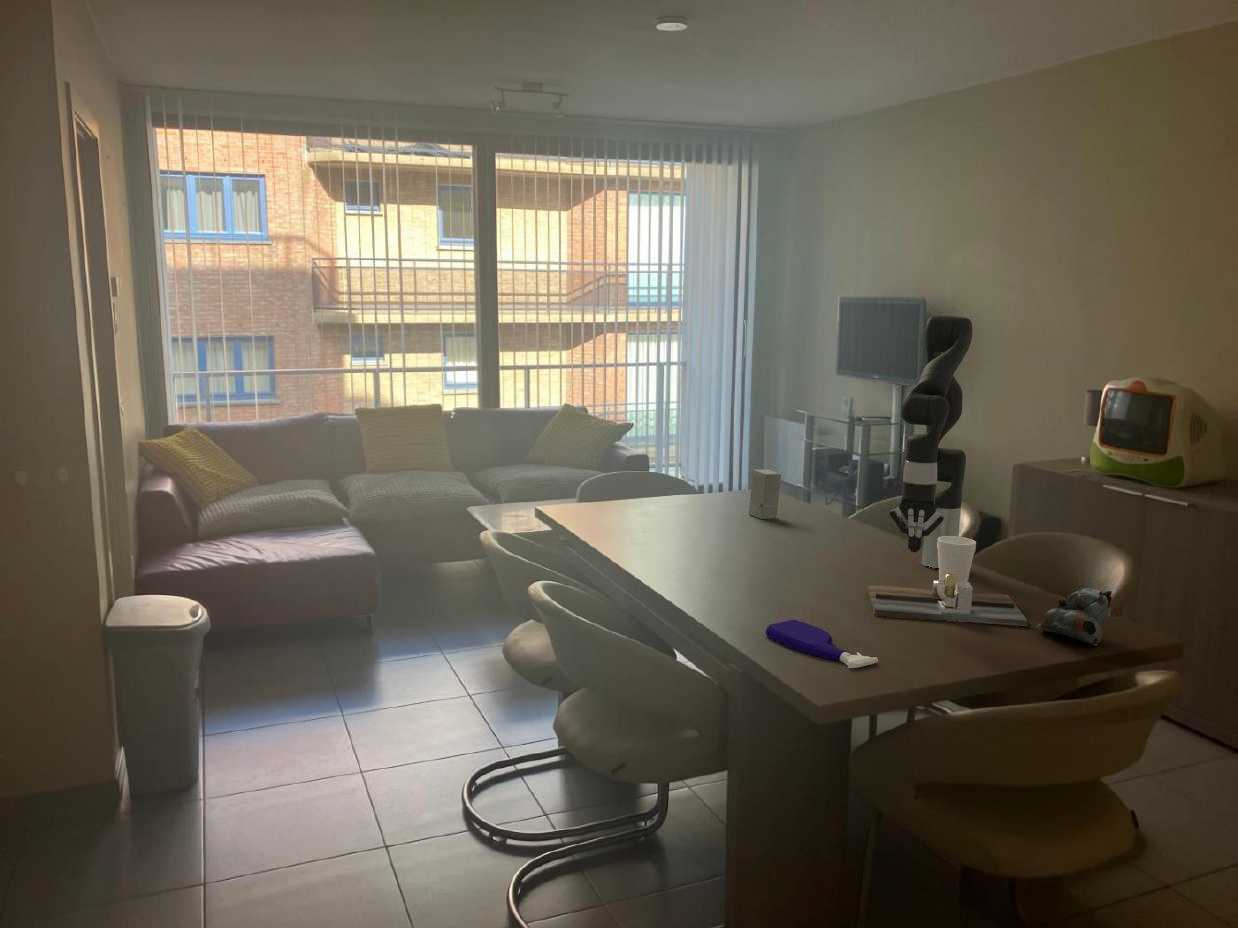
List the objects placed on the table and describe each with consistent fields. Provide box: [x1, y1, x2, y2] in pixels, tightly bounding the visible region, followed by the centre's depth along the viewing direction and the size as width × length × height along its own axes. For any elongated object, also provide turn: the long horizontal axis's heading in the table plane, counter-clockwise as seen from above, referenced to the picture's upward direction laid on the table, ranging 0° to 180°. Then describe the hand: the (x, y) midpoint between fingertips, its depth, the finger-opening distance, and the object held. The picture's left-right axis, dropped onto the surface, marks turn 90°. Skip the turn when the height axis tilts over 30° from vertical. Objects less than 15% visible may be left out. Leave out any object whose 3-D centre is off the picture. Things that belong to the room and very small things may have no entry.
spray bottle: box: [765, 619, 879, 669], centre depth 209 cm, size 3×11×24 cm
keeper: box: [937, 581, 974, 615], centre depth 233 cm, size 6×7×6 cm
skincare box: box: [748, 468, 782, 520], centre depth 337 cm, size 8×7×16 cm
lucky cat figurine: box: [1036, 587, 1113, 645], centre depth 220 cm, size 15×12×14 cm
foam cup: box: [937, 536, 977, 582], centre depth 255 cm, size 10×9×13 cm
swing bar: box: [932, 574, 957, 607], centre depth 239 cm, size 16×4×7 cm, turn 171°
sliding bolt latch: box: [867, 584, 1028, 626], centre depth 240 cm, size 21×34×3 cm, turn 81°
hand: (914, 551), depth 235 cm, fingers closed
